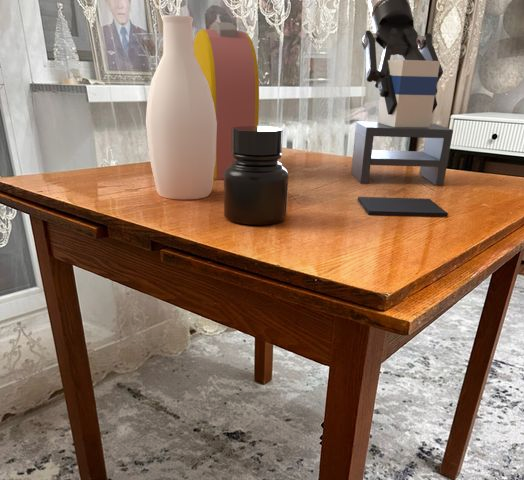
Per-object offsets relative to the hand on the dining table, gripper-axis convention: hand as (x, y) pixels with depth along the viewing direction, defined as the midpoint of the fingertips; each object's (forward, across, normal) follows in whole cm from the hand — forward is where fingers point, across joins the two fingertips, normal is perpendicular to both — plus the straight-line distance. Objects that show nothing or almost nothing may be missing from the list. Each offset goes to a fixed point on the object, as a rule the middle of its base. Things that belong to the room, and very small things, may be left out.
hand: (412, 109), depth 100 cm
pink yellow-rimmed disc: (-1, +34, -20) cm, 39 cm away
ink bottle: (+28, +34, +9) cm, 45 cm away
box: (0, 0, -5) cm, 5 cm away
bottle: (+16, +43, -3) cm, 46 cm away
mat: (+24, +10, +6) cm, 27 cm away
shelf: (+7, 0, -12) cm, 14 cm away
